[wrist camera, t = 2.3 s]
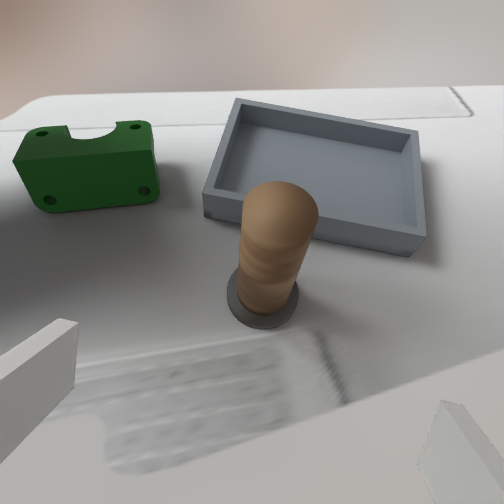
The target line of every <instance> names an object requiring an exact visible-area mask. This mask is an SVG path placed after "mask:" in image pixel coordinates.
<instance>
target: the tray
mask: <svg viewBox="0 0 504 504" xmlns="http://www.w3.org/2000/svg"><path fill="white" fill-rule="evenodd" d="M271 181H283V182H288V183H292V184H295V185H297V186H299V187H301V188H303V189H304V190H305V191H307V192H308V193H309V194H310V195H311V196H312V197H313V199H314V200H315V202H316V204H317V207H318V212H319V217H318V222H317V224H316V227H315V230H314V232H313V235H312V237H311V238H314V239H319V240H324V241H329V242H334V243H339V244H344V245H350V246H355V247H360V248H365V249H370V250H375V251H380V252H385V253H390V254H395V255H400V256H405V257H410V255H411V254H412V253H413V252H414V251H415V250H416V249H417V248H418V246H419V245H420V244H421V243H422V242H423V241H424V240H425V238H426V237H427V232H426V220H425V208H424V196H423V184H422V171H421V159H420V147H419V135H418V131H415V130H410V129H404V128H399V127H393V126H388V125H382V124H377V123H372V122H366V121H361V120H355V119H350V118H344V117H339V116H333V115H328V114H322V113H317V112H311V111H306V110H300V109H295V108H289V107H284V106H278V105H273V104H267V103H262V102H257V101H251V100H246V99H240V98H236V99H235V101H234V104H233V107H232V110H231V113H230V116H229V118H228V121H227V124H226V127H225V130H224V133H223V135H222V138H221V141H220V144H219V147H218V150H217V152H216V155H215V158H214V161H213V164H212V167H211V170H210V172H209V175H208V178H207V181H206V184H205V187H204V189H203V192H202V197H203V209H204V217H208V218H213V219H218V220H223V221H228V222H233V223H238V224H242V210H243V202H244V200H245V198H246V196H247V194H248V193H249V192H250V191H251V190H252V189H253V188H255V187H256V186H258V185H260V184H263V183H266V182H271Z"/></svg>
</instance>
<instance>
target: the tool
mask: <svg viewBox="0 0 504 504" xmlns="http://www.w3.org/2000/svg"><path fill="white" fill-rule="evenodd" d="M318 217H319V212H318V207H317V204H316V202H315V200H314V199H313V197H312V196H311V195H310V194H309V193H308V192H307V191H305V190H304V189H303V188H301V187H299V186H297V185H295V184H292V183H288V182H283V181H271V182H266V183H263V184H260V185H258V186H256V187H255V188H253V189H252V190H251V191H250V192H249V193H248V194H247V196H246V198H245V200H244V202H243V210H242V224H241V238H240V252H239V266H238V269H236V271H235V272H234V273H233V274H232V276H231V278H230V280H229V283H228V287H227V300H228V305H229V308H230V310H231V312H232V313H233V315H234V316H235V317H236V318H237V319H238V320H239V321H240V322H242V323H243V324H245V325H247V326H249V327H252V328H255V329H271V328H275V327H277V326H279V325H281V324H283V323H284V322H286V321H287V320H288V319H289V318H290V316H291V315H292V313H293V311H294V309H295V307H296V304H297V301H298V287H297V284H296V281H295V280H296V277H297V274H298V272H299V269H300V266H301V264H302V261H303V259H304V256H305V253H306V251H307V248H308V245H309V243H310V240H311V237H312V235H313V232H314V230H315V227H316V224H317V222H318Z"/></svg>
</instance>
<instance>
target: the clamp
mask: <svg viewBox="0 0 504 504" xmlns="http://www.w3.org/2000/svg"><path fill="white" fill-rule="evenodd" d="M116 125H117V126H116V128H115V129H114V130H113V131H112V132H111V133H109V134H107V135H105V136H102V137H98V138H94V139H74V138H71V135H70V132H69V130H68V127H67V125H65V126H50V127H40V128H36V129H33V130H31V131H29V132H28V133H27V134H26V135H25V137H24V139H23V141H22V143H21V145H20V147H19V149H18V151H17V153H16V155H15V157H14V159H13V163H14V165H15V167H16V169H17V171H18V173H19V175H20V177H21V179H22V181H23V183H24V185H25V187H26V189H27V191H28V193H29V194H30V196H31V198H32V200H33V202H34V204H35V205H36V206H37V207H38V208H39V209H41V210H43V211H46V212H50V213H56V212H66V211H75V210H85V209H94V208H103V207H113V206H122V205H132V204H141V203H149V202H152V201H154V200H155V199H157V197H158V196H159V192H160V191H159V176H158V171H157V165H156V160H155V155H154V139H153V134H152V128H151V124H150V123H149V122H146V121H141V120H136V121H121V122H116Z"/></svg>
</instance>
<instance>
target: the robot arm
mask: <svg viewBox="0 0 504 504" xmlns="http://www.w3.org/2000/svg"><path fill="white" fill-rule="evenodd" d="M78 327H79V322H75V321H70V320H65V319H61V318H58V319H56V320H55V321H53V322H52V323H50V324H49V325H47V326H46V327H44V328H43V329H41V330H40V331H38V332H37V333H35V334H33V335H32V336H30V337H29V338H27V339H26V340H24V341H23V342H21V343H20V344H18V345H17V346H15V347H14V348H12V349H10V350H9V351H7V352H6V353H4V354H3V355H1V356H0V464H1V463H2V462H3V461H4V460H5V459H6V457H7V456H8V455H9V454H10V453H11V452H12V451H13V450H14V449H15V448H16V447H17V446H18V445H19V444H20V443H21V442H22V441H23V440H24V439H25V438H26V437H27V436H28V435H29V434H30V433H31V432H32V431H33V430H34V429H35V427H37V426H38V425H39V423H40V422H41V421H42V420H43V419H44V418H45V417H46V416H47V415H48V414H49V413H50V412H51V411H52V410H53V409H54V408H55V407H56V406H57V405H58V404H59V403H60V402H61V401H62V400H63V399H64V398H65V397H66V396H67V395H68V394H69V393H70V391H71V390H72V389H73V388H74V380H75V367H76V354H77V340H78ZM417 465H418V467H419V470H420V472H421V474H422V476H423V478H424V481H425V483H426V485H427V487H428V489H429V492H430V494H431V496H432V498H433V500H434V503H435V504H504V459H503V457H502V456H501V455H500V454H499V452H498V451H497V449H496V448H495V447H494V445H493V444H492V443H491V442H490V440H489V439H488V438H487V436H486V435H485V434H484V432H483V431H482V430H481V429H480V427H479V426H478V425H477V423H476V422H475V421H474V419H473V418H472V417H471V416H470V414H469V413H468V411H467V410H466V409H465V407H464V406H463V405H461V404H455V403H451V402H447V401H442V400H440V403H439V405H438V409H437V411H436V414H435V417H434V419H433V422H432V425H431V428H430V431H429V433H428V436H427V439H426V442H425V445H424V447H423V450H422V453H421V456H420V459H419V461H418V464H417Z"/></svg>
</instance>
